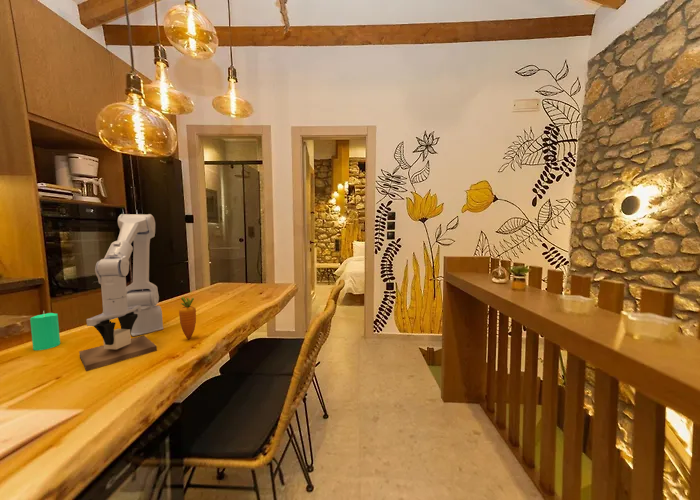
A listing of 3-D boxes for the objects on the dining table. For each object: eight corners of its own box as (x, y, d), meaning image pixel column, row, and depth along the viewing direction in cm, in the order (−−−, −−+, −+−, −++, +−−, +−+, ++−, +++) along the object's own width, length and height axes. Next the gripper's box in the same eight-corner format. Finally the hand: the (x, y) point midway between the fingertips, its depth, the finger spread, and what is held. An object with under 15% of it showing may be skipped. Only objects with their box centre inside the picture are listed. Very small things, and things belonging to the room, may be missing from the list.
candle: (41, 351, 86) (38, 314, 85) (27, 349, 87) (24, 313, 86) (65, 343, 92) (62, 308, 91) (51, 342, 93) (48, 307, 92)
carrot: (200, 337, 95) (198, 295, 94) (188, 342, 91) (185, 298, 90) (190, 335, 97) (187, 294, 96) (177, 340, 92) (174, 297, 91)
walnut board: (144, 339, 94) (144, 335, 94) (156, 350, 85) (156, 345, 85) (79, 356, 82) (79, 351, 82) (86, 371, 73) (85, 365, 73)
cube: (119, 342, 86) (118, 328, 85) (131, 343, 85) (130, 329, 85) (104, 348, 81) (102, 333, 81) (116, 349, 81) (115, 334, 80)
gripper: (127, 291, 90) (130, 331, 91) (76, 303, 76) (80, 350, 77) (145, 292, 89) (148, 332, 90) (96, 304, 74) (100, 352, 75)
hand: (118, 340), depth 83 cm, fingers closed on cube, 4 cm apart
